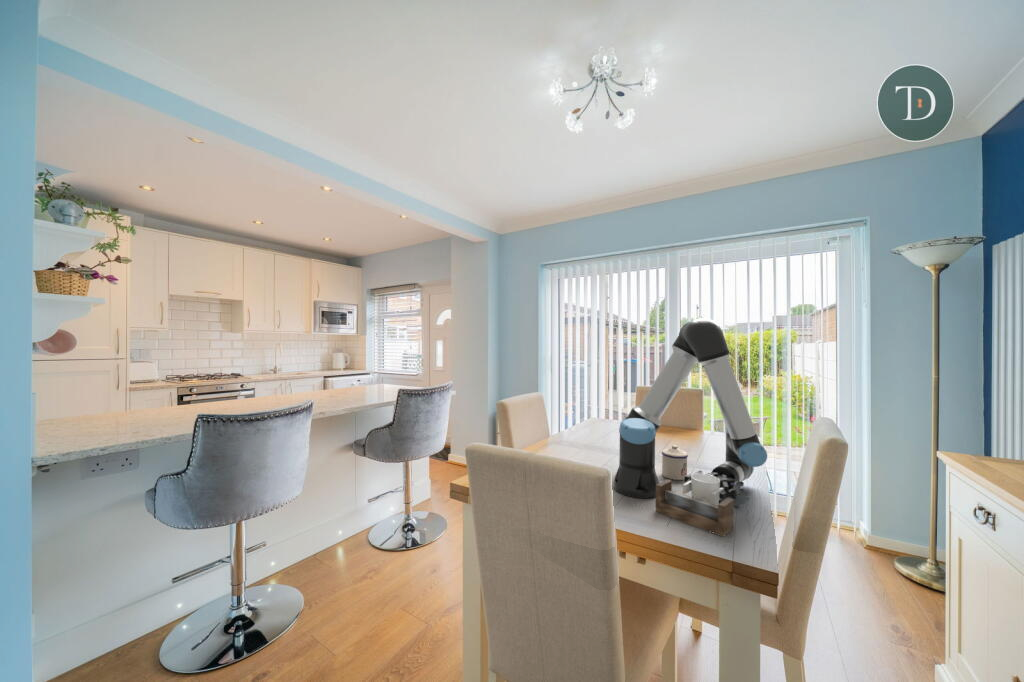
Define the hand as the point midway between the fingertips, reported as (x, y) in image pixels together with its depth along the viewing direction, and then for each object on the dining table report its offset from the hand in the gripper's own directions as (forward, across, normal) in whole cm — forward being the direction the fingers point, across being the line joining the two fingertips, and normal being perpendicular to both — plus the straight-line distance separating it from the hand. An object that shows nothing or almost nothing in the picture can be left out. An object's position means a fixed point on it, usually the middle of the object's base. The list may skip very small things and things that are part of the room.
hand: (698, 493), depth 110 cm
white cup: (-5, 0, -7) cm, 8 cm away
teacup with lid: (-27, +20, -7) cm, 35 cm away
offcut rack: (+4, 0, -6) cm, 7 cm away
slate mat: (-20, 0, -6) cm, 21 cm away
